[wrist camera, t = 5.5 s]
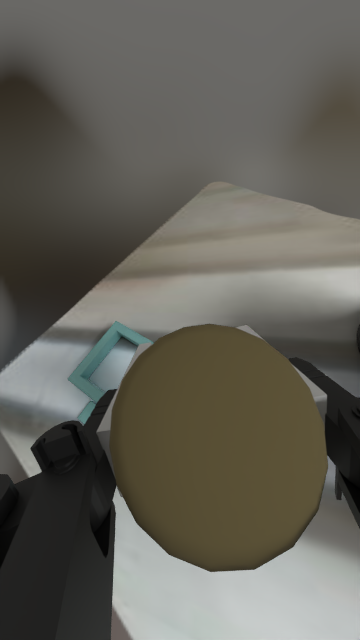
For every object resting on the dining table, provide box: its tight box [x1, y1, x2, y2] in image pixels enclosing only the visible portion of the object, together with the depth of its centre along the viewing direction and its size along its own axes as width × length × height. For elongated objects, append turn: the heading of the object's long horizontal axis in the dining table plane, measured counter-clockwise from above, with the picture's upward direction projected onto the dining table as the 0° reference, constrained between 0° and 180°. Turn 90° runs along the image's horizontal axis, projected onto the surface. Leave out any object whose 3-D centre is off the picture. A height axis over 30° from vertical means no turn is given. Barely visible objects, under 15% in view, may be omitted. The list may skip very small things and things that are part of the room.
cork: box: [109, 324, 328, 572], centre depth 9 cm, size 6×6×11 cm
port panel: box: [68, 321, 154, 424], centre depth 24 cm, size 13×23×2 cm, turn 58°
